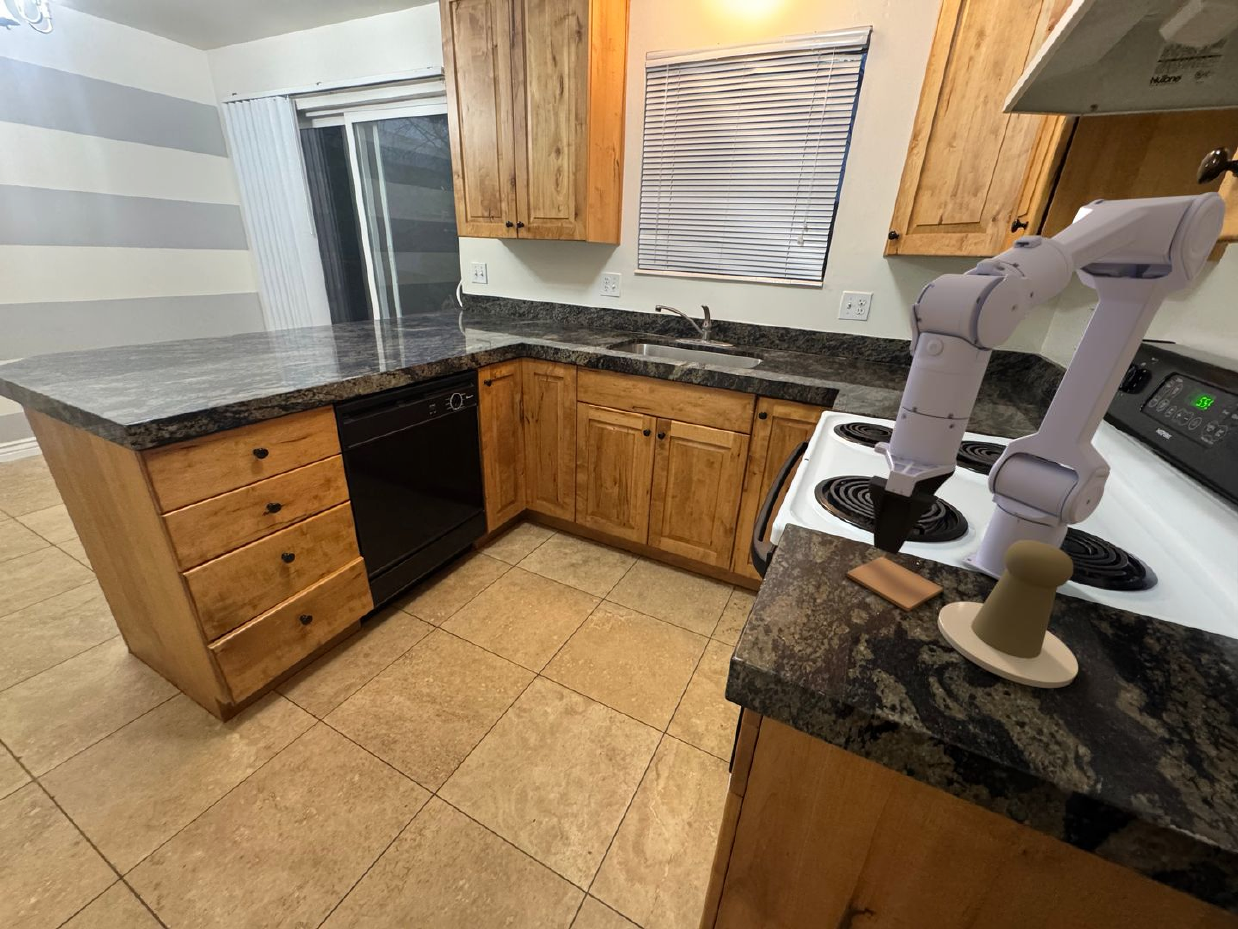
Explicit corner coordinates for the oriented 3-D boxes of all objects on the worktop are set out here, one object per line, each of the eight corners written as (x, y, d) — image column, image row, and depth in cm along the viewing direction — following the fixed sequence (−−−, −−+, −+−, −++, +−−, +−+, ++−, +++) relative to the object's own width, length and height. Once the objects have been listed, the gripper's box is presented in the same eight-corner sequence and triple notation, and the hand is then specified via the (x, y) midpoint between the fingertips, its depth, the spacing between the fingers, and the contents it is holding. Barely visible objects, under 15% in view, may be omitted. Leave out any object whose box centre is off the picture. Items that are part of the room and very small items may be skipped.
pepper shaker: (1054, 663, 49) (1101, 570, 45) (986, 652, 50) (1027, 559, 46) (1021, 623, 55) (1060, 537, 50) (961, 614, 56) (995, 528, 51)
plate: (967, 595, 60) (969, 590, 60) (1093, 659, 51) (1096, 653, 51) (915, 628, 54) (917, 622, 54) (1048, 707, 45) (1051, 701, 45)
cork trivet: (880, 559, 67) (881, 556, 67) (942, 591, 61) (943, 588, 61) (845, 575, 63) (846, 572, 63) (907, 612, 57) (908, 608, 56)
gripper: (905, 390, 54) (874, 501, 59) (866, 414, 44) (832, 546, 49) (982, 404, 50) (941, 522, 55) (959, 434, 40) (911, 577, 45)
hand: (895, 536), depth 52 cm, fingers open, 7 cm apart
